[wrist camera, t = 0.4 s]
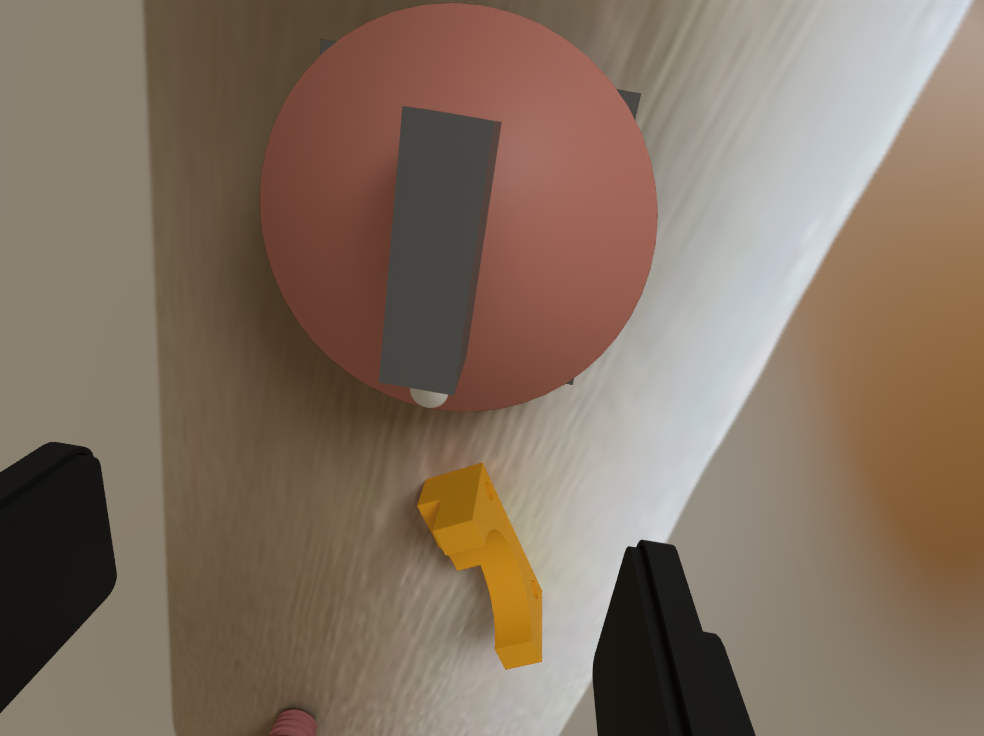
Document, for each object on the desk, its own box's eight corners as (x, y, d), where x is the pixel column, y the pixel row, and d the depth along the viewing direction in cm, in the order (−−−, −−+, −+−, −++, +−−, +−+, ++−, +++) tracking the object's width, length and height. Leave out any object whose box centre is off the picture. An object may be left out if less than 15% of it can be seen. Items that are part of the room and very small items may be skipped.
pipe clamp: (426, 478, 41) (406, 538, 35) (482, 461, 40) (472, 519, 34) (489, 602, 45) (481, 674, 39) (541, 589, 44) (541, 661, 38)
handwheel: (271, -26, 24) (167, -83, 17) (703, 47, 24) (766, 18, 17) (270, 369, 31) (197, 436, 24) (601, 428, 31) (618, 511, 24)
